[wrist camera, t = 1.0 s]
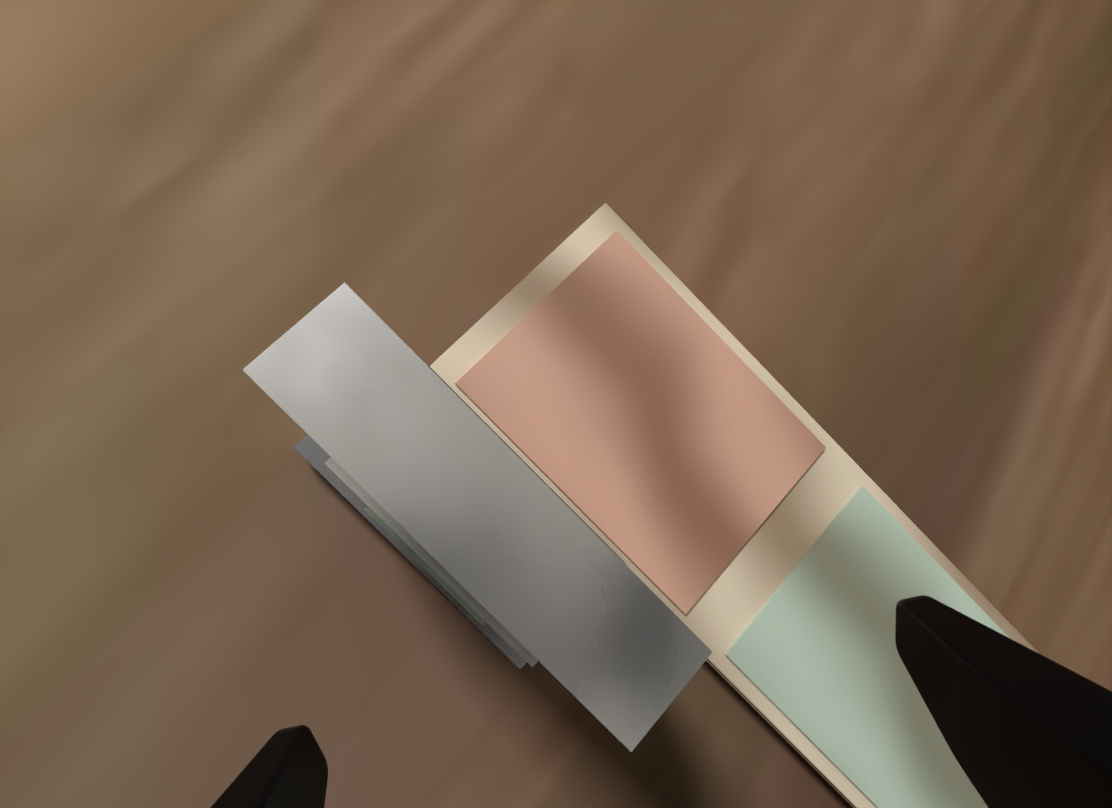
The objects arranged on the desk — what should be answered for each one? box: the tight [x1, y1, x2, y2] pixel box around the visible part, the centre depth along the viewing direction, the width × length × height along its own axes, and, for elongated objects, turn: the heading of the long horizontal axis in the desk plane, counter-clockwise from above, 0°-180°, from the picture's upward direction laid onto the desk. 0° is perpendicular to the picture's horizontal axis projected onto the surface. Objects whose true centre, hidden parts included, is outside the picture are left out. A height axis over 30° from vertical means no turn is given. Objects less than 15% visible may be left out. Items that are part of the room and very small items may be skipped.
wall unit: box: [243, 283, 712, 752], centre depth 17 cm, size 4×10×10 cm, turn 46°
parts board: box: [430, 203, 1038, 808], centre depth 23 cm, size 9×26×1 cm, turn 46°
